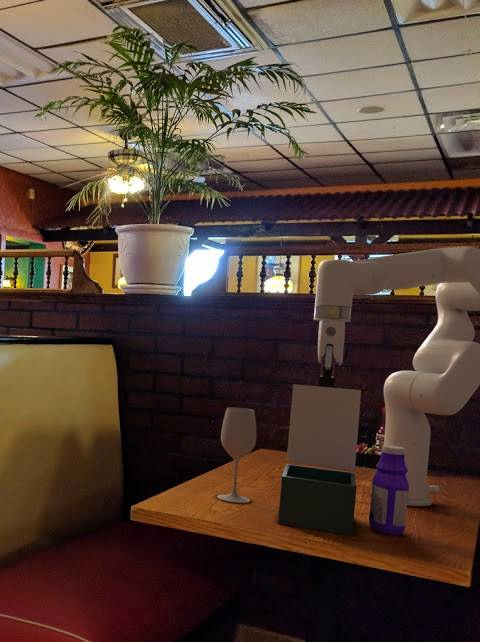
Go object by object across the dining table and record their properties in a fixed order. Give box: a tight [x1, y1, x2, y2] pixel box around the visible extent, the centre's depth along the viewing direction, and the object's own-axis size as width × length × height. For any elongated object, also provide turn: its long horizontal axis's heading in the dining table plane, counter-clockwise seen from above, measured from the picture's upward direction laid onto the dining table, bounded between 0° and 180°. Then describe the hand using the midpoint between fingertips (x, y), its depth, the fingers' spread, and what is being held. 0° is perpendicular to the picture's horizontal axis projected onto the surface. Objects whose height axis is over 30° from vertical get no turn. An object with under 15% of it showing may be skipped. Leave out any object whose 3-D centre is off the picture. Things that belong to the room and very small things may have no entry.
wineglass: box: [216, 406, 257, 504], centre depth 172 cm, size 8×8×21 cm
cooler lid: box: [286, 384, 362, 472], centre depth 165 cm, size 18×14×1 cm
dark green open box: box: [277, 463, 357, 536], centre depth 157 cm, size 17×14×10 cm
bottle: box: [368, 444, 409, 536], centre depth 151 cm, size 7×6×17 cm
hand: (325, 394), depth 171 cm, fingers closed
